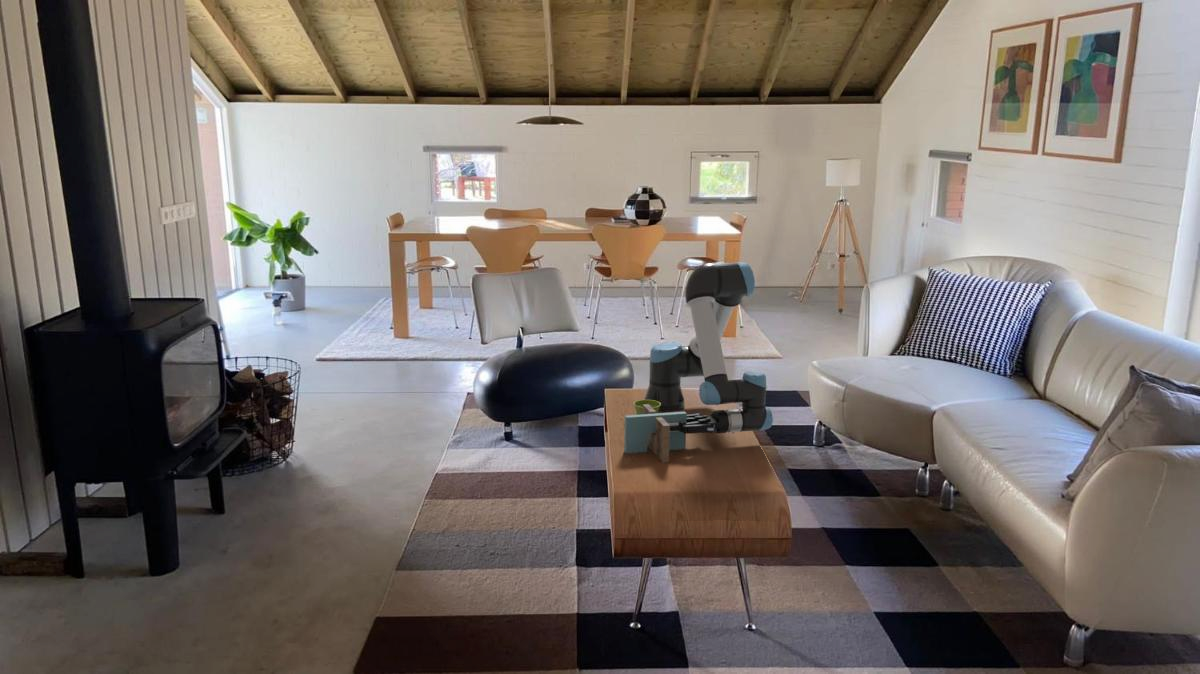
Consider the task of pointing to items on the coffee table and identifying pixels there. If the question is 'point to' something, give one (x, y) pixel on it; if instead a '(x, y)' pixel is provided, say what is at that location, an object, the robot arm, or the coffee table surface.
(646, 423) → the slotted plate
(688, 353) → the robot arm
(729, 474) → the coffee table surface
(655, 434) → the walnut board
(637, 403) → the plant pot
